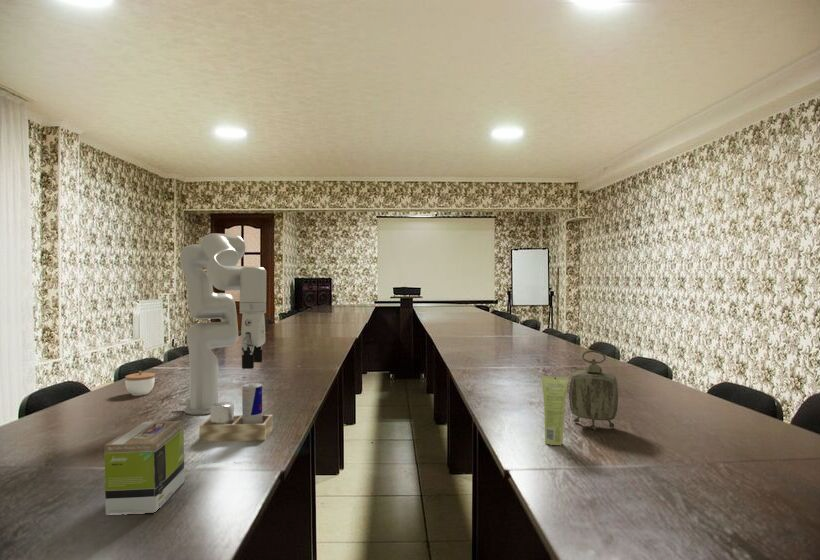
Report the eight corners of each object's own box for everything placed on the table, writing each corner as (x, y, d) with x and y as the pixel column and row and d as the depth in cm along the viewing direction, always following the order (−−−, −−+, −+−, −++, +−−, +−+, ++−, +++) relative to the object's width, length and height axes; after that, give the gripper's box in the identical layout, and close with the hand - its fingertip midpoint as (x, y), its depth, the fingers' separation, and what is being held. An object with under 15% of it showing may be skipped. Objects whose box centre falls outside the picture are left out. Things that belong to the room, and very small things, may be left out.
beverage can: (256, 438, 134) (256, 387, 133) (238, 437, 135) (238, 386, 134) (265, 432, 139) (265, 383, 139) (248, 431, 140) (248, 382, 140)
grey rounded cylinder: (207, 439, 133) (207, 408, 133) (214, 432, 139) (215, 402, 139) (229, 438, 134) (229, 407, 134) (236, 431, 140) (236, 402, 140)
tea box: (140, 483, 106) (141, 420, 106) (185, 482, 107) (186, 419, 107) (103, 517, 91) (103, 443, 91) (155, 515, 92) (155, 441, 92)
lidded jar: (147, 389, 197) (147, 367, 197) (159, 393, 191) (160, 370, 191) (120, 394, 188) (120, 371, 188) (132, 398, 182) (132, 374, 182)
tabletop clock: (618, 427, 149) (618, 350, 149) (617, 435, 141) (618, 354, 141) (571, 421, 155) (571, 347, 155) (568, 429, 147) (568, 350, 147)
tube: (555, 439, 137) (555, 373, 137) (568, 444, 133) (568, 377, 133) (540, 442, 135) (541, 375, 135) (553, 447, 130) (553, 379, 130)
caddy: (199, 444, 131) (199, 425, 131) (211, 433, 141) (211, 415, 141) (264, 443, 133) (265, 424, 133) (272, 432, 142) (272, 414, 142)
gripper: (258, 310, 129) (257, 371, 129) (272, 306, 146) (271, 360, 146) (230, 310, 128) (230, 371, 128) (248, 306, 145) (247, 360, 146)
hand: (252, 365), depth 137 cm, fingers open, 9 cm apart
